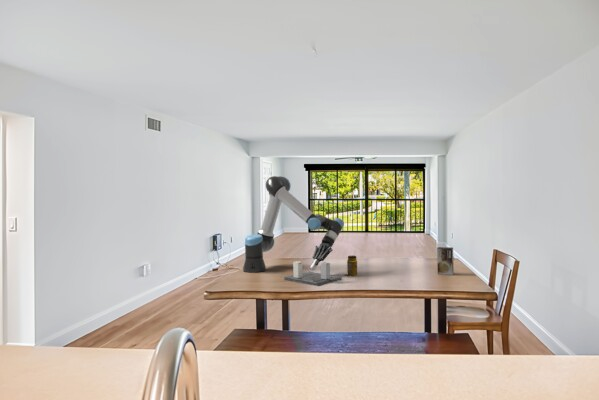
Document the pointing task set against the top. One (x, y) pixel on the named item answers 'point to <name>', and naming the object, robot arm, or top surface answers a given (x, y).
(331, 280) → the dark grey flat board
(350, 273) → the condiment
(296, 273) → the block
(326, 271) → the block
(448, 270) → the coffee box
